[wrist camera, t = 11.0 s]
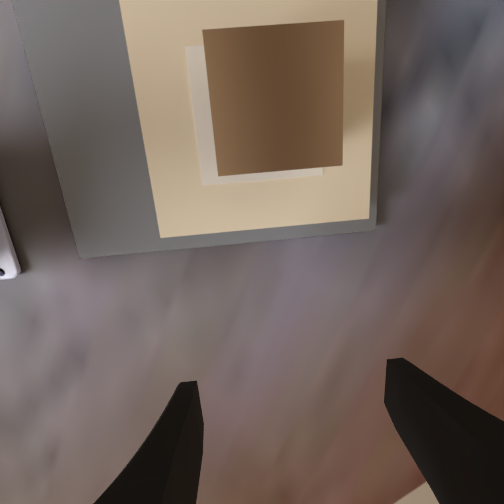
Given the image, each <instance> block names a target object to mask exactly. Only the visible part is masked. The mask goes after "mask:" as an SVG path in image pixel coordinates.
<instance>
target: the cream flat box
mask: <svg viewBox="0 0 504 504" xmlns="http://www.w3.org/2000/svg"><path fill="white" fill-rule="evenodd" d="M11 1H12V4H13V8H14V12H15V16H16V20H17V23H18V27H19V31H20V35H21V39H22V42H23V46H24V50H25V54H26V58H27V61H28V65H29V69H30V73H31V77H32V80H33V84H34V88H35V92H36V96H37V99H38V103H39V107H40V111H41V115H42V118H43V122H44V126H45V130H46V134H47V137H48V141H49V145H50V149H51V153H52V156H53V160H54V164H55V168H56V171H57V175H58V179H59V183H60V187H61V190H62V194H63V198H64V202H65V206H66V209H67V213H68V217H69V221H70V225H71V228H72V232H73V236H74V240H75V244H76V247H77V251H78V255H79V259H83V258H93V257H104V256H114V255H125V254H135V253H146V252H156V251H167V250H177V249H188V248H198V247H209V246H219V245H230V244H240V243H251V242H261V241H272V240H283V239H293V238H304V237H314V236H325V235H335V234H346V233H356V232H367V231H376V216H377V194H378V172H379V151H380V129H381V108H382V86H383V64H384V43H385V21H386V0H11ZM335 20H344V86H343V166H331V167H320V168H308V169H297V170H285V171H274V172H263V173H251V174H240V175H228V176H218V171H217V162H216V152H215V143H214V134H213V125H212V116H211V106H210V97H209V88H208V79H207V70H206V61H205V51H204V42H203V33H202V30H205V29H220V28H234V27H248V26H263V25H277V24H292V23H306V22H321V21H335Z"/></svg>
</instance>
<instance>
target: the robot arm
mask: <svg viewBox="0 0 504 504" xmlns="http://www.w3.org/2000/svg"><path fill="white" fill-rule="evenodd" d="M0 268H1V269H3V270H4V271H5V274H4V273H2V272H1V271H0V280H3V279H12V278H15V277H17V276H18V275H19V274H20V272H21V268H20V265H19V262H18V259H17V256H16V253H15V250H14V247H13V244H12V241H11V238H10V235H9V232H8V229H7V226H6V223H5V220H4V217H3V214H2V210H1V207H0ZM384 403H385V406H386V408H387V410H388V413H389V415H390V417H391V420H392V422H393V424H394V426H395V428H396V430H397V432H398V434H399V435H400V437H401V439H402V441H403V442H404V444H405V446H406V447H407V449H408V451H409V452H410V454H411V456H412V457H413V459H414V461H415V462H416V464H417V466H418V467H419V469H420V471H421V472H422V474H423V476H424V478H425V479H426V481H427V483H428V484H429V486H430V488H431V489H432V491H433V493H434V495H435V496H436V498H437V500H438V502H439V504H504V421H502V420H500V419H498V418H497V417H495V416H493V415H491V414H489V413H488V412H486V411H484V410H483V409H481V408H479V407H478V406H476V405H474V404H472V403H471V402H469V401H467V400H466V399H464V398H463V397H461V396H459V395H458V394H456V393H455V392H453V391H452V390H450V389H449V388H447V387H446V386H444V385H443V384H441V383H440V382H438V381H437V380H435V379H434V378H432V377H431V376H429V375H428V374H426V373H425V372H423V371H422V370H420V369H419V368H418V367H416V366H415V365H413V364H412V363H410V362H409V361H407V360H405V359H404V358H396V359H387V366H386V381H385V396H384ZM203 431H204V422H203V416H202V410H201V404H200V397H199V391H198V385H197V381H189V382H180V383H179V385H178V386H177V388H176V390H175V392H174V394H173V396H172V397H171V399H170V401H169V403H168V405H167V406H166V408H165V410H164V411H163V413H162V415H161V416H160V418H159V420H158V421H157V423H156V424H155V426H154V428H153V429H152V431H151V432H150V434H149V435H148V437H147V438H146V440H145V441H144V442H143V444H142V445H141V447H140V448H139V450H138V451H137V452H136V454H135V455H134V456H133V458H132V459H131V460H130V462H129V463H128V464H127V466H126V467H125V468H124V469H123V471H122V472H121V473H120V474H119V475H118V477H117V478H116V479H115V480H114V481H113V483H112V484H111V485H110V486H109V487H108V488H107V489H106V490H105V492H104V493H103V494H102V495H101V496H100V497H99V498H98V499H97V500H96V502H95V503H94V504H196V499H197V492H198V485H199V477H200V470H201V462H202V455H203Z"/></svg>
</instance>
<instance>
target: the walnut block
mask: <svg viewBox="0 0 504 504" xmlns="http://www.w3.org/2000/svg"><path fill="white" fill-rule="evenodd" d="M202 33H203V42H204V51H205V61H206V70H207V79H208V88H209V97H210V106H211V116H212V125H213V134H214V143H215V152H216V162H217V171H218V176H228V175H240V174H251V173H263V172H274V171H285V170H297V169H308V168H320V167H331V166H343V86H344V20H335V21H321V22H306V23H292V24H277V25H263V26H248V27H234V28H220V29H205V30H202Z"/></svg>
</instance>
